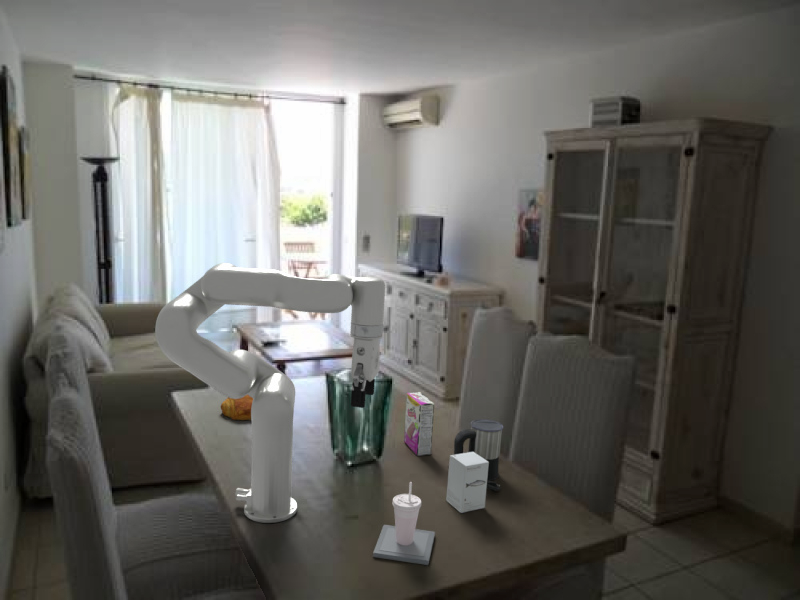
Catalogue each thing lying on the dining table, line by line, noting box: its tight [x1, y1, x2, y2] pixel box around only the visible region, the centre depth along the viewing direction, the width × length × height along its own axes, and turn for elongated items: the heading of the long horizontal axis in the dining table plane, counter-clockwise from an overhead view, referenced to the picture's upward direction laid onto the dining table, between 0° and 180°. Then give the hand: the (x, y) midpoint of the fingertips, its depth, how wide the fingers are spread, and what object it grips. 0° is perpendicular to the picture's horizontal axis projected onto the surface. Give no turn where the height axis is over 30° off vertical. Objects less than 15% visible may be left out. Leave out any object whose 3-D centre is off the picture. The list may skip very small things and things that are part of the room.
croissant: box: [220, 395, 253, 421], centre depth 216 cm, size 14×16×8 cm
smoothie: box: [392, 481, 422, 545], centre depth 140 cm, size 6×6×14 cm
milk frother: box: [453, 418, 504, 492], centre depth 175 cm, size 14×16×15 cm
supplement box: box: [445, 451, 489, 514], centre depth 161 cm, size 7×7×13 cm
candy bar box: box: [403, 391, 435, 457], centre depth 194 cm, size 11×5×16 cm, turn 22°
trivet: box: [372, 524, 436, 566], centre depth 141 cm, size 12×12×1 cm
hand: (362, 400), depth 151 cm, fingers open, 9 cm apart
